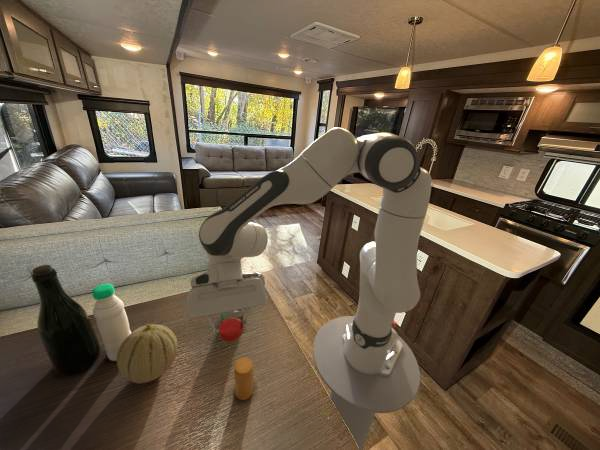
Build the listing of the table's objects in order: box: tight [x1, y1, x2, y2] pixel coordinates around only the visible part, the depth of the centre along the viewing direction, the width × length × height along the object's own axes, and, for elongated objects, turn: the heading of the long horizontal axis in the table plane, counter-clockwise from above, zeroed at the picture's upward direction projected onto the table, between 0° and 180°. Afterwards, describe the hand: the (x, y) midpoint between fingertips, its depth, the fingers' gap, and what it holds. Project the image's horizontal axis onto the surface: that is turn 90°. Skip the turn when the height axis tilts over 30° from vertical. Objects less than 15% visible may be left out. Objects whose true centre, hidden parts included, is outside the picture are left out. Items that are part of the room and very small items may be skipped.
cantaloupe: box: [116, 323, 179, 384], centre depth 70 cm, size 15×15×15 cm
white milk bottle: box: [91, 283, 132, 362], centre depth 72 cm, size 7×7×25 cm
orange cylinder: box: [233, 356, 254, 401], centre depth 67 cm, size 5×5×11 cm
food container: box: [219, 309, 245, 323], centre depth 88 cm, size 12×6×10 cm, turn 42°
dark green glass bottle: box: [31, 264, 102, 377], centre depth 67 cm, size 10×10×33 cm
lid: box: [218, 318, 244, 342], centre depth 63 cm, size 6×6×2 cm
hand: (231, 330), depth 63 cm, fingers closed on lid, 6 cm apart
